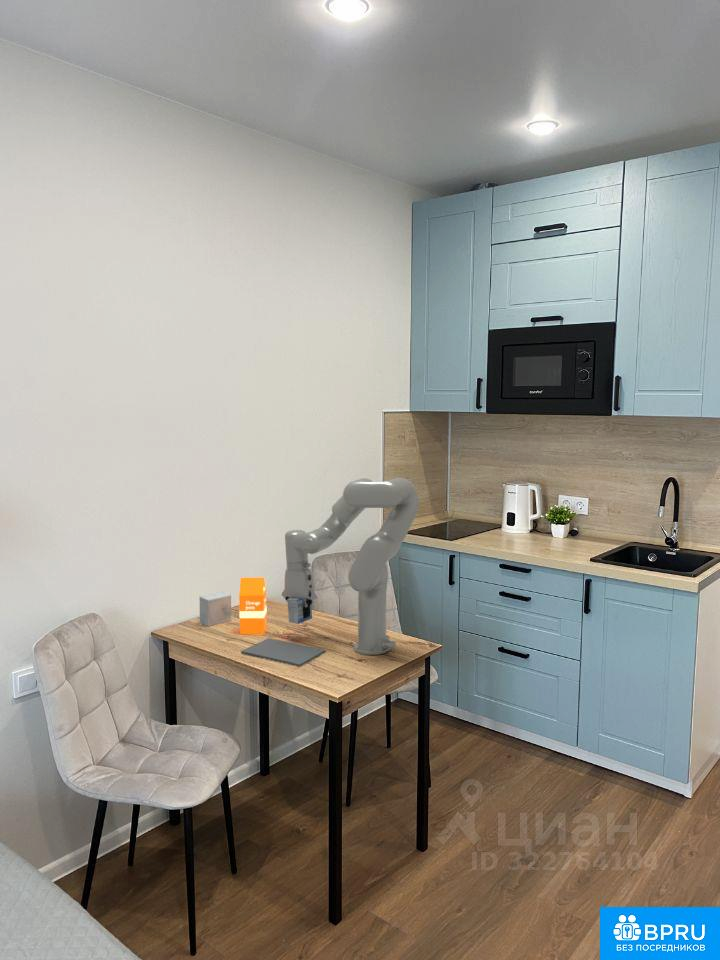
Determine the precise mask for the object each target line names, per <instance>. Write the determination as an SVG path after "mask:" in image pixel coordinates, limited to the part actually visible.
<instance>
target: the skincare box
mask: <svg viewBox="0 0 720 960" xmlns="http://www.w3.org/2000/svg"><path fill="white" fill-rule="evenodd" d="M228 621H229V622H232V595H231V594H229V593H228V592H225V591H219V592H215V593H209V594H205V595H201V596H199V623H200V624H201V625H204V626H206V627H208V626H209V627H212V625H213V626H216V624H217V625H221V624H224V622H225V623H228ZM220 623H221V624H220Z"/></svg>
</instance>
